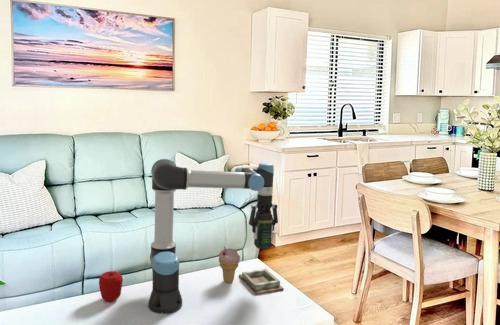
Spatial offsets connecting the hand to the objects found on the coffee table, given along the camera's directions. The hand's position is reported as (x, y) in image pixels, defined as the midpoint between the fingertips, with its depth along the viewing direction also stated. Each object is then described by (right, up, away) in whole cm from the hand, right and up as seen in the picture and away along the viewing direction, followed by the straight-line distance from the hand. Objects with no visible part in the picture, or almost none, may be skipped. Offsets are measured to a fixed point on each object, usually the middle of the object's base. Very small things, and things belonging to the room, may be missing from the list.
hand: (262, 237), depth 217 cm
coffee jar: (0, -5, +1) cm, 5 cm away
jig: (-1, -24, +4) cm, 25 cm away
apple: (-71, -25, -19) cm, 78 cm away
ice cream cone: (-18, -24, +5) cm, 30 cm away
